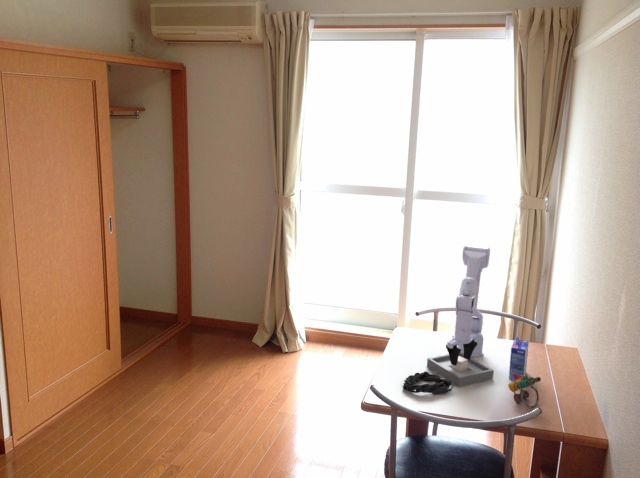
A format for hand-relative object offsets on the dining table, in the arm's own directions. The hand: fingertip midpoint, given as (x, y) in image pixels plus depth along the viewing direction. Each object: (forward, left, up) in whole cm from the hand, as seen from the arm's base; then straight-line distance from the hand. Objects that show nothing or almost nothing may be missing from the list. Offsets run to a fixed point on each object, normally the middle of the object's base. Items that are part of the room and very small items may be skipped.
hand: (460, 362), depth 211 cm
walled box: (0, 0, -4) cm, 4 cm away
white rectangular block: (0, 0, -4) cm, 4 cm away
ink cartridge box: (-19, +10, -4) cm, 22 cm away
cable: (+19, +4, -5) cm, 20 cm away
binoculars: (-5, +26, -4) cm, 27 cm away
